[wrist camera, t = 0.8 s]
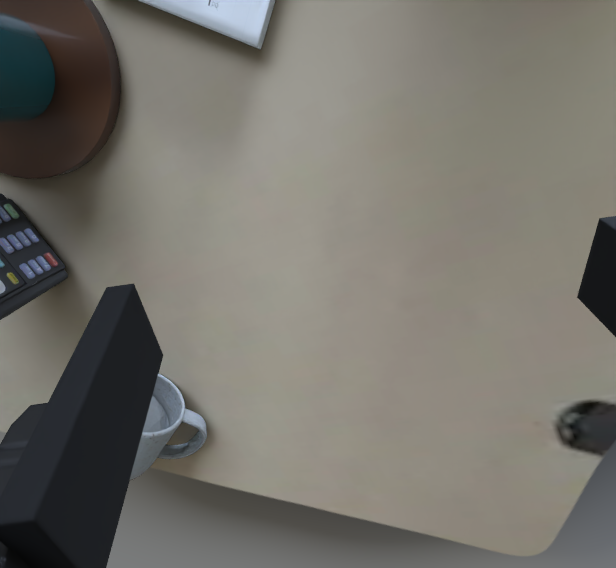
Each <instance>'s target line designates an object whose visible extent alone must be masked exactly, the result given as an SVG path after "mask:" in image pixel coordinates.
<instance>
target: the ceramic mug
mask: <svg viewBox="0 0 616 568" xmlns="http://www.w3.org/2000/svg"><path fill="white" fill-rule="evenodd" d="M181 423H187V424H189V425H191V426H193V427H195V428H197V429H198V430H199V431H198V432H197V434H196V435H195V436H194V437H193V438H192V439H191V440H189V441H188V442H187V443H184V444H180V445H166V443H167V442H168V441H169V439H170V438H171V436H172V435H173V433H174V432H175V431H176V430H177V428H178V427H179V425H180V424H181ZM206 438H207V431H206V423H205V421H204V419H203V418H202V417H201V416H200V415H199V414H197V413H195V412H193V411H191V410H188V409H185V402H184V399H183V396H182V394H181V392H180V391H179V389H178V388H177V387H176V386H175V385H174V384H173V383H172V382H171V381H170V380H169V379H167V378H166V377H164V376H162V375H160V374H159V373H158V376H157V380H156V384H155V387H154V391H153V395H152V399H151V402H150V406H149V410H148V413H147V417H146V421H145V425H144V428H143V432H142V436H141V439H140V443H139V447H138V451H137V454H136V458H135V462H134V465H133V469H132V473H131V477H130V480H133V479H135V478H137V477H138V476H139V475H141V474H142V473H143V472H145V471H146V470H147V469H148V468H149V467H150V466H151V465H152V464H153V462H154V461H155V460H156V458H162V459H179V458H183V457H186V456H189V455H191V454H193V453H195V452H196V451H197V450H199V449H200V448H201V447H202V445H203V444H204V442H205V440H206ZM130 480H129V481H130Z"/></svg>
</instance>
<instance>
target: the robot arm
mask: <svg viewBox="0 0 616 568" xmlns="http://www.w3.org/2000/svg"><path fill="white" fill-rule="evenodd" d="M577 298H578V299H579V300H580V301H581V302H582V303H583V304H584V305H585V306H586V307H587V308H588V309H589V310H590V311H591V312H592V313H593V314H594V315H595V316H596V317H597V318H598V319H599V320H600V321H601V322H602V323H603V324H604V325H605V326H606V327H607V328H608V330H609V331H610V332H611V333H612V334H613V335H614V336H615V337H616V216H613V217H606V218H599V222H598V225H597V229H596V233H595V236H594V240H593V243H592V247H591V250H590V254H589V257H588V261H587V264H586V268H585V272H584V275H583V279H582V282H581V286H580V289H579V293H578V296H577ZM162 358H163V354H162V351H161V349H160V346H159V344H158V341H157V339H156V336H155V334H154V332H153V329H152V327H151V324H150V322H149V319H148V317H147V315H146V312H145V310H144V307H143V305H142V302H141V300H140V298H139V295H138V293H137V290H136V288H135V285H134V284H128V285H121V286H114V287H107V288H106V290H105V292H104V294H103V296H102V298H101V300H100V302H99V304H98V306H97V307H96V309H95V311H94V313H93V315H92V317H91V319H90V321H89V323H88V325H87V327H86V329H85V331H84V333H83V335H82V337H81V339H80V341H79V343H78V345H77V347H76V349H75V351H74V353H73V355H72V357H71V359H70V361H69V363H68V365H67V367H66V368H65V370H64V372H63V374H62V376H61V378H60V380H59V382H58V384H57V386H56V388H55V390H54V392H53V394H52V396H51V398H50V400H49V402H48V403H43V404H36V405H30V406H29V407H28V408H27V409H26V411H25V412H24V413H23V414H22V415H21V416H20V417H19V418H18V419H17V420H16V421H15V422H14V423H13V424H12V425H11V426H10V428H9V430H8V432H7V433H6V435H5V437H4V439H3V440H2V442H1V444H0V568H106V566H107V562H108V558H109V555H110V551H111V547H112V543H113V540H114V536H115V532H116V528H117V525H118V521H119V518H120V514H121V510H122V506H123V503H124V499H125V495H126V491H127V488H128V484H129V480H130V477H131V473H132V469H133V465H134V462H135V458H136V454H137V451H138V447H139V443H140V439H141V436H142V432H143V428H144V425H145V421H146V417H147V413H148V410H149V406H150V402H151V399H152V395H153V391H154V387H155V384H156V380H157V376H158V373H159V369H160V365H161V361H162Z"/></svg>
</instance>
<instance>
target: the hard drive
mask: <svg viewBox="0 0 616 568" xmlns="http://www.w3.org/2000/svg"><path fill="white" fill-rule="evenodd" d="M138 1H140V2H143V3H145V4H148V5H151V6H153V7H155V8H158V9H161V10H163V11H166V12H168V13H170V14H173V15H175V16H178V17H181V18H183V19H185V20H188V21H191V22H193V23H196V24H198V25H201V26H203V27H206V28H208V29H211V30H213V31H216V32H218V33H221V34H223V35H226V36H228V37H231V38H233V39H236V40H238V41H241V42H244V43H245V44H248V45H250V46H253V47H255V48H258V49H261V47H262V44H263V41H264V38H265V35H266V31H267V28H268V24H269V21H270V18H271V14H272V11H273V7H274V4H275V0H138Z"/></svg>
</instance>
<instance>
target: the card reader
mask: <svg viewBox="0 0 616 568" xmlns="http://www.w3.org/2000/svg"><path fill="white" fill-rule="evenodd" d="M64 268H65V265H64V264H63V263H62V262H61V260H60V259H59V258H58V257H57V255H56V254H55V253H54V252H53V250H52V249H51V248H50V247H49V245H48V244H47V243H46V242H45V240H44V239H43V238H42V237H41V236H40V234H39V233H38V232H37V231H36V229H35V228H34V227H33V226H32V224H31V223H30V222H29V221H28V219H27V218H26V217H25V216H24V214H23V213H22V212H21V211H20V209H19V208H18V207H17V206H16V204H15V203H14V202H13V201H12V200H10V199H8V200H7V198H6V197H5V196H4V195H3V194H0V320H1V319H3V318H4V317H6V316H8V315H9V314H11V313H13V312H14V311H16V310H17V309H19V308H21V307H22V306H24V305H25V304H27V303H28V302H30V301H32V300H33V299H35V298H36V297H38V296H40V295H41V294H43V293H44V292H46V291H48V290H49V289H51V288H53V287H54V286H56V285H57V284H59V283H60V282H62V281H63V280H65V279H66V278H67V277H68V274H67V273H66V271H65V270H64Z"/></svg>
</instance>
